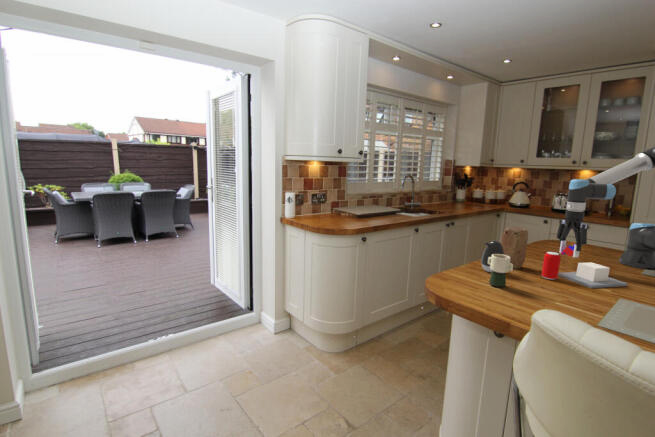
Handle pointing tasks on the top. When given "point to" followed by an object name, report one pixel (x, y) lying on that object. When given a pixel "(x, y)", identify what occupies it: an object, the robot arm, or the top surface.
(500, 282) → the character mug
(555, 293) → the top surface
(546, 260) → the beverage can
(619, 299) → the top surface
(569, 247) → the toy building block
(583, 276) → the build base
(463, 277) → the top surface
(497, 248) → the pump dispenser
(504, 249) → the block
